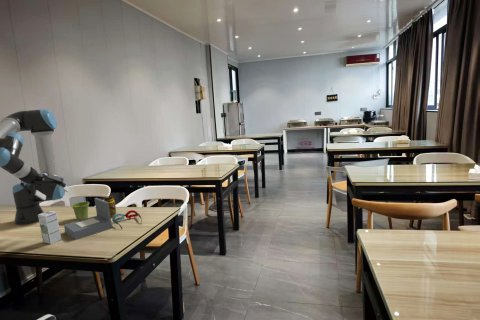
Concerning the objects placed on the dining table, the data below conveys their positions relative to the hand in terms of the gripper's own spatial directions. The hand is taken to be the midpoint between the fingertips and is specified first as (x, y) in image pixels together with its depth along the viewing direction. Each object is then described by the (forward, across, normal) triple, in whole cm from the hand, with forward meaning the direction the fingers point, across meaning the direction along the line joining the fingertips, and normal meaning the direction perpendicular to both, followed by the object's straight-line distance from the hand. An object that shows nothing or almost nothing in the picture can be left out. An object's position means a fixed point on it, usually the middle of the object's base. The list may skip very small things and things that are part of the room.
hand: (56, 194), depth 165 cm
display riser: (+13, +12, -20) cm, 27 cm away
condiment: (+27, +14, -6) cm, 31 cm away
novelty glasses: (+23, +29, -18) cm, 41 cm away
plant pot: (+24, -2, -2) cm, 24 cm away
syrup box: (+3, 0, -27) cm, 27 cm away
